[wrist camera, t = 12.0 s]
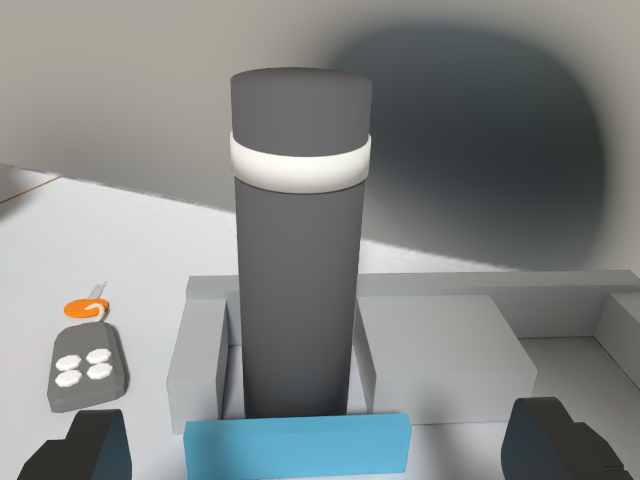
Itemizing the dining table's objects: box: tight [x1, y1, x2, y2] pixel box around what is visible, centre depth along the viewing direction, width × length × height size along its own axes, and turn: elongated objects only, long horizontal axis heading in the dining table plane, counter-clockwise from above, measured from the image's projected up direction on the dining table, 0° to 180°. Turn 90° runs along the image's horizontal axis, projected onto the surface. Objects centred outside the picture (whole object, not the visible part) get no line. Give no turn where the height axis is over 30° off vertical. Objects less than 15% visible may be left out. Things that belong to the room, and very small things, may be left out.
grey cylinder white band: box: [230, 67, 373, 419], centre depth 22 cm, size 5×5×15 cm
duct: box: [166, 270, 640, 480], centre depth 26 cm, size 25×10×4 cm, turn 95°
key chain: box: [47, 282, 126, 413], centre depth 30 cm, size 13×4×2 cm, turn 23°
